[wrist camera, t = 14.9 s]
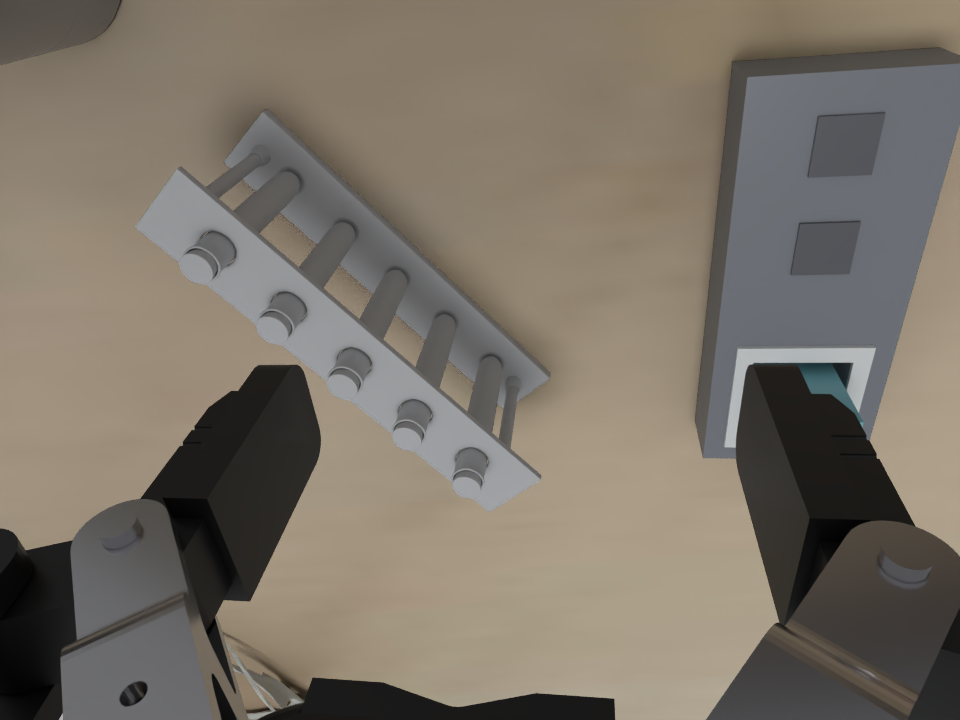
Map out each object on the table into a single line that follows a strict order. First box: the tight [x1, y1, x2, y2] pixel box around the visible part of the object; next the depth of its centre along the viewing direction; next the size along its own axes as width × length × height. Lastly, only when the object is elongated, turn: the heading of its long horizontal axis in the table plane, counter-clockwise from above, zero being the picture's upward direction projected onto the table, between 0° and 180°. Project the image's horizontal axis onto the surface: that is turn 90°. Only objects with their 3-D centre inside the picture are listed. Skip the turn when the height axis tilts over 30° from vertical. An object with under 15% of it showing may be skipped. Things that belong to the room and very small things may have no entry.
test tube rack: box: [135, 109, 550, 512], centre depth 40 cm, size 25×4×13 cm, turn 45°
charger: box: [753, 363, 864, 427], centre depth 41 cm, size 4×4×8 cm
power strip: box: [695, 48, 960, 458], centre depth 40 cm, size 10×24×4 cm, turn 5°
